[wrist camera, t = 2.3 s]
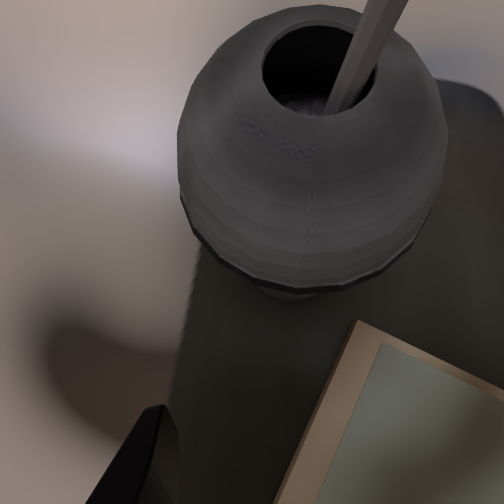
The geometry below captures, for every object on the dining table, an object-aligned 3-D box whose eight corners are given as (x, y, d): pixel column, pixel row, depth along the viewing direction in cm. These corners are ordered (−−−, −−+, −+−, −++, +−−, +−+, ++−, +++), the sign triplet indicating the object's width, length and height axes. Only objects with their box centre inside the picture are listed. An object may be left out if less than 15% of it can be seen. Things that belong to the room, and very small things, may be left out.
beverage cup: (256, 188, 23) (159, -626, 4) (371, 229, 22) (1022, -632, 3) (206, 297, 22) (-361, -183, 2) (327, 348, 20) (1158, 232, 1)
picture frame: (579, 432, 19) (606, 439, 17) (517, 652, 17) (541, 683, 15) (352, 322, 21) (358, 319, 19) (271, 505, 19) (271, 518, 17)
